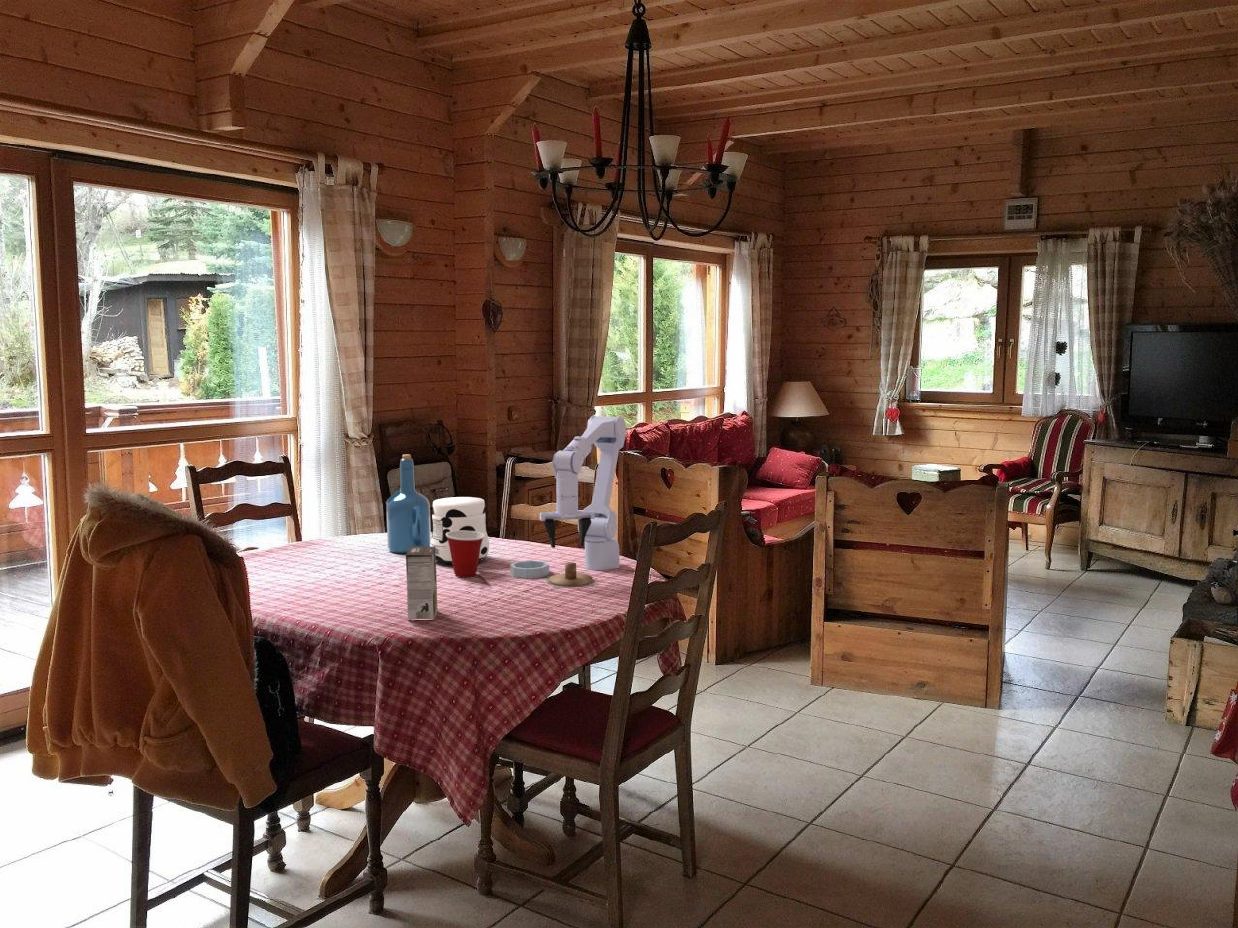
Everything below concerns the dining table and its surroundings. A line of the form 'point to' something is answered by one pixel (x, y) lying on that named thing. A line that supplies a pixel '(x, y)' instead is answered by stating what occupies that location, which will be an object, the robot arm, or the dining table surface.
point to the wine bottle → (407, 513)
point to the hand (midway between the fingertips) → (567, 546)
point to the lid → (570, 577)
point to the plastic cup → (465, 551)
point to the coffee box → (421, 582)
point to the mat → (571, 586)
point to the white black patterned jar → (457, 523)
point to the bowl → (529, 569)
